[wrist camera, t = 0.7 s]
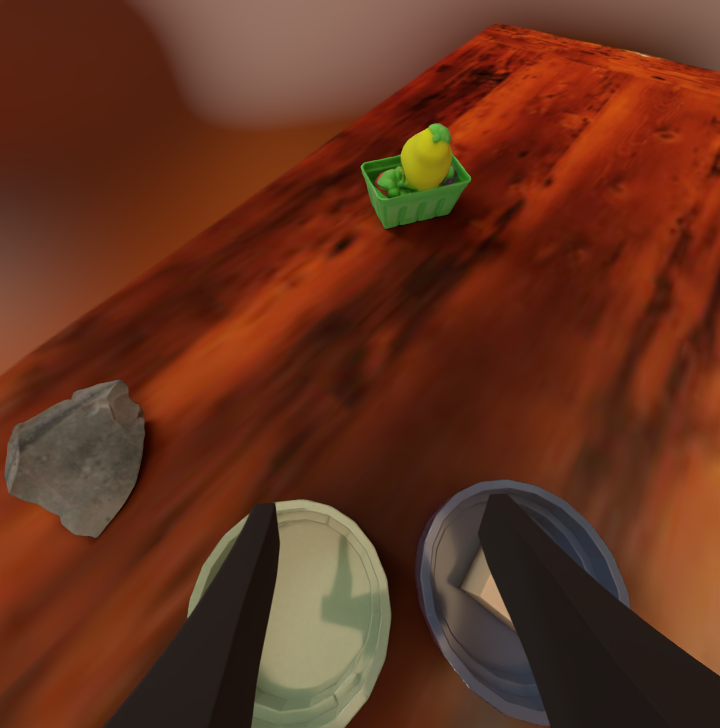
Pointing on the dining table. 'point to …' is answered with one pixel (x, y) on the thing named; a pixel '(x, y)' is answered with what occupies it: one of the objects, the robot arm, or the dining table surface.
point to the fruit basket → (416, 179)
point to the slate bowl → (474, 622)
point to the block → (485, 589)
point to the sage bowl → (316, 619)
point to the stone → (79, 457)
